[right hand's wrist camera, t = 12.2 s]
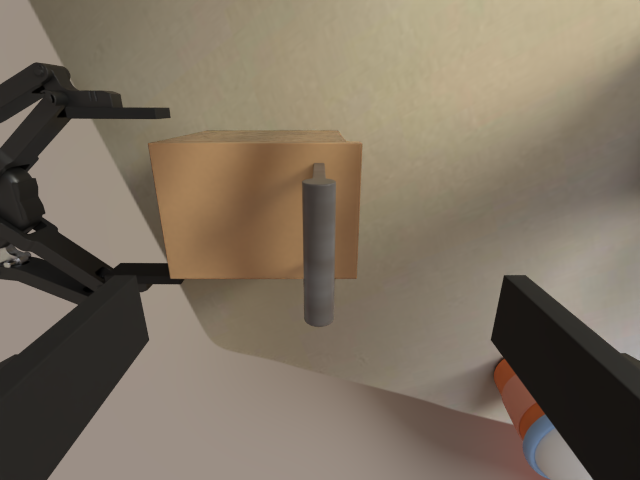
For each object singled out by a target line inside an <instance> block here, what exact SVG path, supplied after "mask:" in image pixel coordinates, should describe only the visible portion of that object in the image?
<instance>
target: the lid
mask: <svg viewBox="0 0 640 480" xmlns="http://www.w3.org/2000/svg"><path fill="white" fill-rule="evenodd" d="M148 147H149V153H150V159H151V165H152V171H153V177H154V183H155V189H156V195H157V201H158V207H159V213H160V219H161V225H162V231H163V237H164V243H165V249H166V255H167V261H168V267H169V273H170V278H171V279H304V319H305V321H306V323H307V324H309V325H311V326H315V327H323V326H327V325H329V324H331V323H332V322H333V320H334V280H335V279H356V278H357V260H358V235H359V211H360V186H361V162H362V143H361V142H152V143H148Z"/></svg>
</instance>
